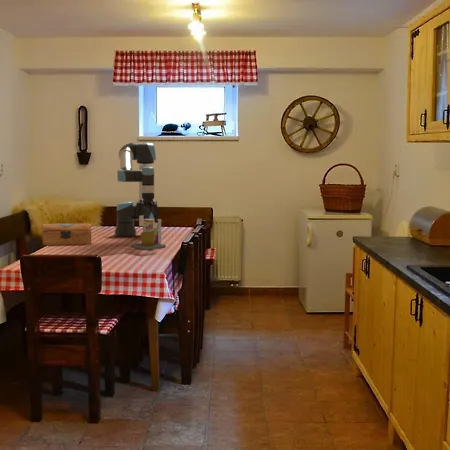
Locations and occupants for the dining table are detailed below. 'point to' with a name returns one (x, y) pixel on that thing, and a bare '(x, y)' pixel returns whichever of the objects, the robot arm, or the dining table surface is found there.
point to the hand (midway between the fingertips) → (148, 227)
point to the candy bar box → (153, 229)
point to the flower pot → (147, 238)
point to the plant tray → (148, 246)
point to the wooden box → (66, 234)
